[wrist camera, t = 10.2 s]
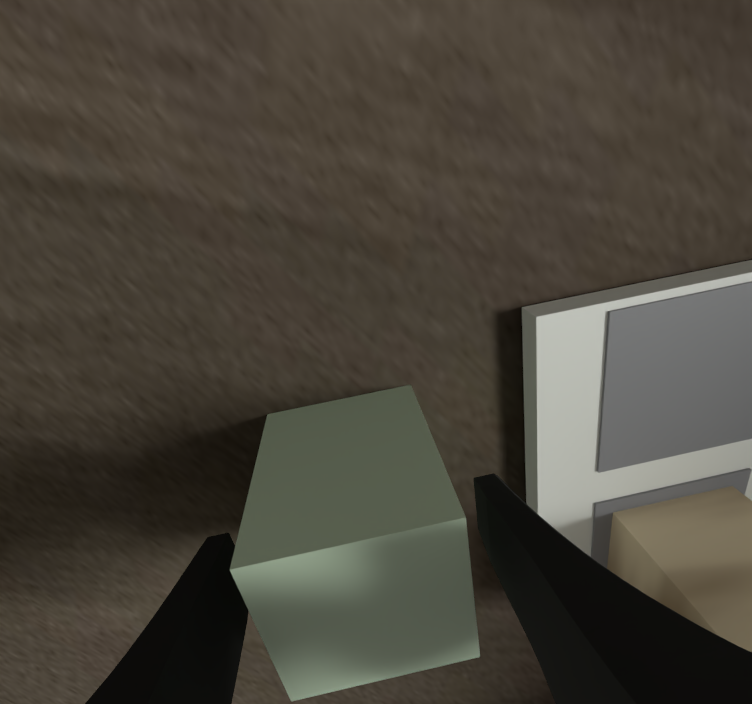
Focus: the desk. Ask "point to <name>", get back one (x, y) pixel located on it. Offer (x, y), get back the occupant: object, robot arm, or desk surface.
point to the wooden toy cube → (691, 558)
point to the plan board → (637, 398)
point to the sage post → (355, 546)
